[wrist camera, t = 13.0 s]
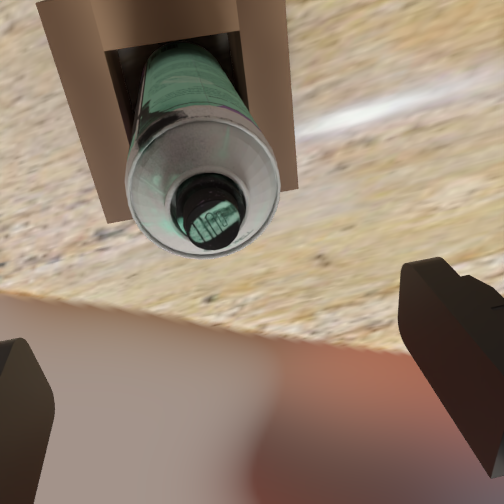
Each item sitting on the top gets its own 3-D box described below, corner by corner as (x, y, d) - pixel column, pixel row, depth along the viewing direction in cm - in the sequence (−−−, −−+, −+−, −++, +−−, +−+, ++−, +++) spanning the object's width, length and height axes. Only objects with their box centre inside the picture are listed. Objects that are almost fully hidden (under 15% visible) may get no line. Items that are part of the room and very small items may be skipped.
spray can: (127, 101, 31) (87, 264, 14) (164, 22, 29) (170, 99, 12) (200, 140, 33) (243, 321, 16) (239, 69, 31) (336, 191, 14)
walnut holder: (260, -33, 28) (282, -33, 23) (277, 156, 34) (298, 188, 29) (58, -4, 27) (35, 2, 22) (115, 185, 33) (107, 223, 28)
